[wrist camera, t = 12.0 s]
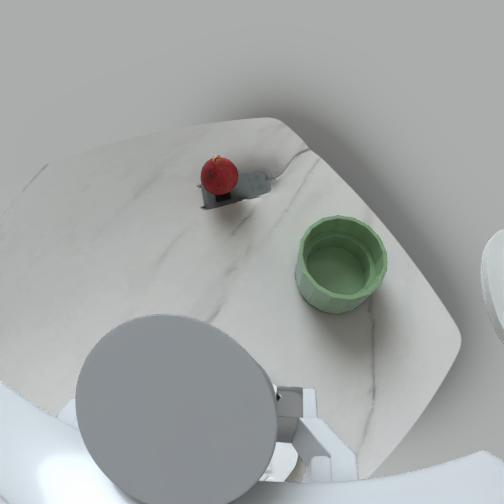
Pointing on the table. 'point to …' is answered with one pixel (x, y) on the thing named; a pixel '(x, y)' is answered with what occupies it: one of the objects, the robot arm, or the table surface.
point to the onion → (219, 175)
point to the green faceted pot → (339, 264)
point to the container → (176, 411)
